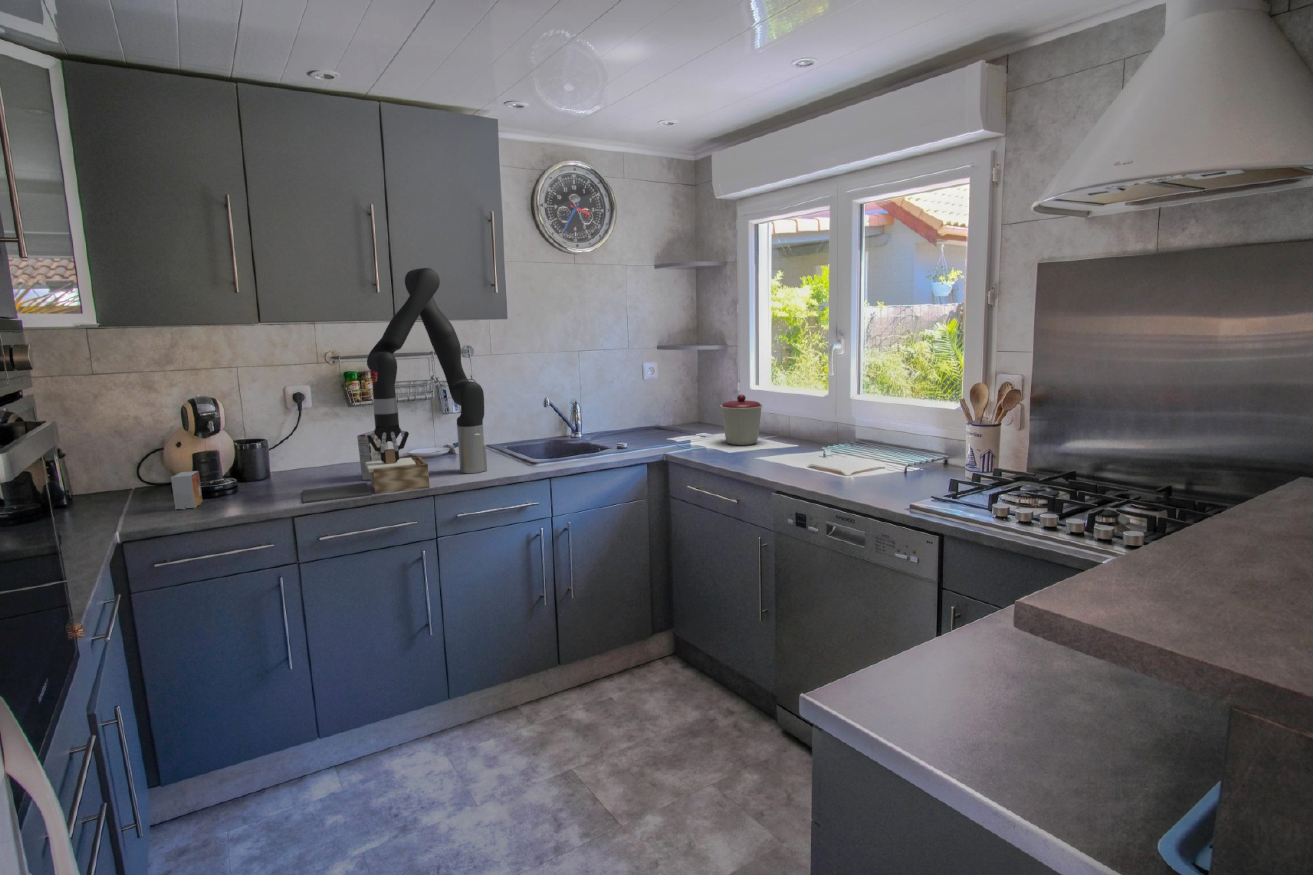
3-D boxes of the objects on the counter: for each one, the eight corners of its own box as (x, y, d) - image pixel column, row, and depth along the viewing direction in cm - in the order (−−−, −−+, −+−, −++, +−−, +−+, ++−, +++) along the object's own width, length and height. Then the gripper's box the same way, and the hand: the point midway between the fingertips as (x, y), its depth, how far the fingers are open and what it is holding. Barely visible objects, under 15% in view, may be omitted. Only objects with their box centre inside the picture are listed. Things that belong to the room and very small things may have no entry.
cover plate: (411, 460, 256) (409, 444, 255) (416, 467, 244) (415, 450, 243) (365, 465, 249) (364, 449, 248) (369, 472, 238) (367, 455, 237)
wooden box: (422, 478, 260) (420, 456, 258) (429, 487, 245) (427, 464, 244) (371, 484, 252) (369, 461, 251) (375, 493, 238) (373, 469, 237)
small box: (195, 508, 225) (191, 475, 223) (175, 510, 223) (170, 477, 222) (203, 502, 233) (199, 470, 231) (183, 504, 231) (179, 471, 229)
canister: (770, 445, 307) (770, 395, 304) (730, 448, 302) (730, 397, 298) (751, 438, 324) (751, 391, 320) (714, 441, 319) (713, 393, 315)
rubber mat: (366, 484, 253) (366, 482, 253) (371, 495, 237) (371, 493, 237) (302, 491, 244) (302, 489, 244) (302, 503, 228) (302, 501, 228)
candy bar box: (378, 473, 270) (374, 429, 267) (390, 473, 269) (387, 430, 266) (360, 480, 259) (356, 434, 257) (373, 480, 258) (369, 435, 256)
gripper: (406, 408, 250) (410, 458, 253) (362, 412, 244) (367, 462, 247) (409, 411, 243) (413, 462, 246) (364, 414, 237) (369, 466, 240)
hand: (390, 462), depth 246 cm, fingers closed on cover plate, 3 cm apart
